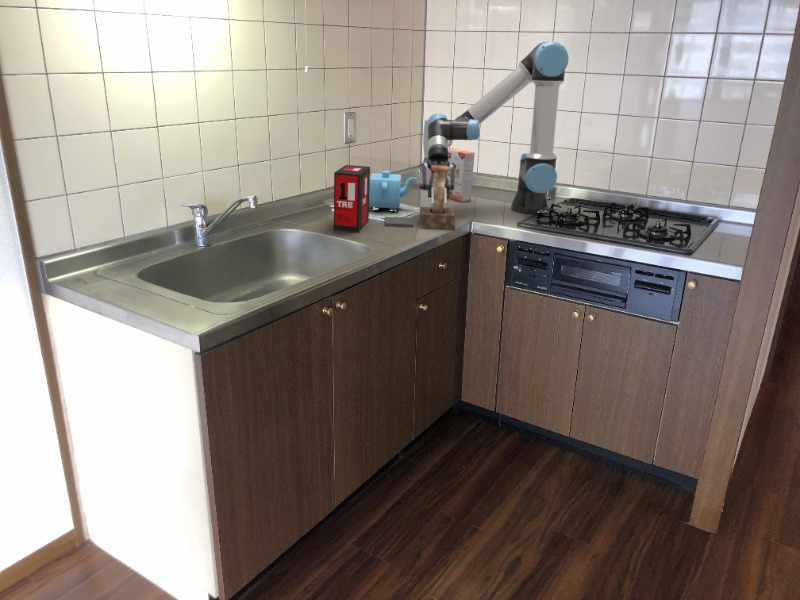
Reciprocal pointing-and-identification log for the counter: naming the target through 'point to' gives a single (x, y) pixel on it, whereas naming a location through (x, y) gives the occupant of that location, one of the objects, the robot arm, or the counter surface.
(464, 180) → the cracker box
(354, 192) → the cleaning product box
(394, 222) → the rubber mat
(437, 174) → the wheel peg
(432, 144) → the robot arm
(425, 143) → the blender
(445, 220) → the eye block
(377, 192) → the teakettle
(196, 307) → the counter surface
